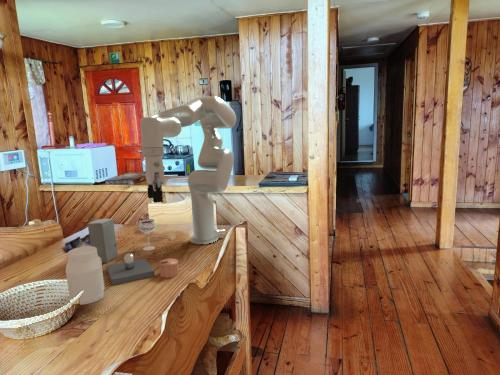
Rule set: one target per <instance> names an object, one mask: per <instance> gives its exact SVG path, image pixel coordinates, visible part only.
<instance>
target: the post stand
mask: <svg viewBox="0 0 500 375" xmlns="http://www.w3.org/2000/svg"><path fill="white" fill-rule="evenodd" d="M134 258H135V257H134V253H132V252H130V253H125V254H123V261H122V262H118V263H113V264H108V265H106V272H107V274H108V277H109V280H110V282H111V286H115V285H121V284H124V283H129V282H133V281H139V280H143V279H149V278H151V277H155V270H154V268H153V266H152V265H151V264H150V263H149V262H148V261H149V260H148V259H146V257H143V258H139V259H134Z"/></svg>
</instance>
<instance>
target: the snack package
mask: <svg viewBox="0 0 500 375" xmlns="http://www.w3.org/2000/svg"><path fill="white" fill-rule="evenodd" d="M64 245H65V246H64V247H65V248H64V251H65V252H66V253H68V252H69V251H70V250H72V249H75V248H78V247H84V246H91V244H90V237H89V233H88V234H86V235H85V236H82V237H81V236H78V237H76V238H74V239H73V240H70V241H67V242H65V243H64Z"/></svg>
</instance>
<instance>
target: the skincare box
mask: <svg viewBox="0 0 500 375" xmlns="http://www.w3.org/2000/svg"><path fill="white" fill-rule="evenodd" d="M87 228H88V234H89V237H90V244H91V246H93V247H96V248H97V254H98V256H99V257H100V258H101V261H102V264H108V263H109V262H111V261H113V260H114V259H115V258H116V257H118V247H117V239H116V231H115V230H116V229H115V222H114V218H98V219H95V220H93V221H91V222H89V223H87Z"/></svg>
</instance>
